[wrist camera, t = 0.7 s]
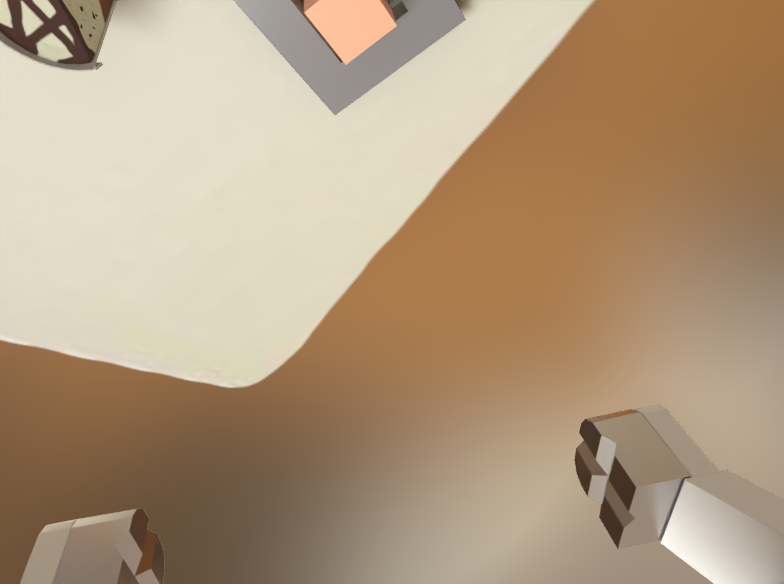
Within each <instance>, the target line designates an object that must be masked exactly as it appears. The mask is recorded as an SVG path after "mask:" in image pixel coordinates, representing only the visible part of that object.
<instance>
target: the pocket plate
mask: <svg viewBox="0 0 784 584" xmlns="http://www.w3.org/2000/svg"><path fill="white" fill-rule="evenodd" d="M234 1H235V2H236V4H237V5H238V6H239V7H240V8H241V9H242V10H243V12H244V13H245V14H246V15H247V16H248V17H249V18H250V19H251V21H252V22H253V23H254V24H255V25H256V26H257V27H258V29H259V30H260V31H261V32H262V33H263V34H264V35H265V36H266V38H267V39H268V40H269V41H270V42H271V43H272V44H273V46H274V47H275V48H276V49H277V50H278V51H279V52H280V54H281V55H282V56H283V57H284V58H285V59H286V60H287V61H288V63H289V64H290V65H291V66H292V67H293V68H294V69H295V71H296V72H297V73H298V74H299V75H300V76H301V77H302V78H303V80H304V81H305V82H306V83H307V84H308V85H309V86H310V88H311V89H312V90H313V91H314V92H315V93H316V94H317V95H318V97H319V98H320V99H321V100H322V101H323V102H324V103H325V105H326V106H327V107H328V108H329V109H330V110H331V111H332V112H333V114H334V115H336V114H338V113H339V112H340V111H342V110H343V109H344V108H346V107H347V106H348V105H350V104H351V103H353V102H354V101H355V100H357V99H358V98H359V97H361V96H362V95H363V94H365V93H366V92H368V91H369V90H370V89H372V88H373V87H374V86H376V85H377V84H378V83H380V82H381V81H383V80H384V79H385V78H387V77H388V76H389V75H391V74H392V73H394V72H395V71H396V70H398V69H399V68H400V67H402V66H403V65H404V64H406V63H407V62H409V61H410V60H411V59H413V58H414V57H415V56H417V55H418V54H419V53H421V52H422V51H424V50H425V49H426V48H428V47H429V46H430V45H432V44H433V43H434V42H436V41H437V40H439V39H440V38H441V37H443V36H444V35H445V34H447V33H448V32H450V31H451V30H452V29H454V28H455V27H456V26H458V25H459V24H460V23H462V22H463V21H465V20H466V19H465V18H464V16H463V14H462V12H461V10H460V8H459V7H458V5H457V3H456V1H455V0H401V1H402V2H401V3H399V4H398V5H397V6H395V7H394V8H393V9H392V12H393V15H394V18H395V21H396V24H397V26H396V27H395V28H394V29H392V30H391V31H390V32H388V33H387V34H386V35H384V36H383V37H382V38H380V39H379V40H378V41H377V42H375V43H374V44H373V45H371V46H370V47H369V48H367V49H366V50H365V51H364V52H362V53H361V54H360V55H358V56H357V57H356V58H354V59H353V60H352V61H350V62H349V63H348V64H347V65H345V63H344V62H343V61H342V60H341V58H340V57H339V56H338V54H337V53H336V52H335V51H334V49H333V48H332V47H331V46H330V44H329V43H328V42H327V41H326V39H325V38H324V37H323V36H322V34H321V33H320V32H319V31H318V29H317V28H316V27H315V26H314V24H313V23H312V22H311V21H310V19H309V18H308V17H307V16H306V14H305V13H304V5H303V4H302V2H301V1H300V0H234Z"/></svg>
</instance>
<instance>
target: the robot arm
mask: <svg viewBox="0 0 784 584" xmlns="http://www.w3.org/2000/svg"><path fill="white" fill-rule="evenodd" d="M579 433H580V435H581V436H582V438H583V439H584V441H583V442H582V443H581V444H580V445H579V446H578V447H577V448H576V453H575V465H576V472H577V475H578V478H579V481H580V483H581V485H582V487H583V489H584V491H585V493H586V494H587V496H588V497H589V498H591V499H592V500H594V501H596V502H597V503H599V504H600V505H601V509H600V515H599V518H600V519H601V521H602V523H603V524H604V526H605V528H606V530H607V531H608V533H609V535H610V537H611V538H612V540H613V542H614V543H615V545H616V547H617V549H620V548H626V547H631V546H636V545H640V544H645V543H651V542H655V541H660V540H662V541H661V543H662V544H663V545H664V546H665V547H667V548H668V549H669V550H671V551H672V552H673V553H675V554H676V555H677V556H678V557H680V558H681V559H682V560H684V561H685V562H686V563H688V564H689V565H690V566H692V567H693V568H694V569H696V570H697V571H698V572H700V573H701V574H702V575H704V576H705V577H706V578H707V579H709V580H710V581H711V582H713V583H714V584H784V499H782V498H780V497H779V496H777V495H774V494H773V493H771V492H769V491H767V490H765V489H763V488H761V487H759V486H757V485H755V484H753V483H751V482H750V481H748V480H746V479H744V478H742V477H740V476H738V475H736V474H734V473H732V472H730V471H728V470H723V471H719V470H718V469H717V468H716V467H715V465H714V464H713V463H712V462H711V461H710V459H709V458H708V457H707V456H706V455H705V454H704V452H703V451H702V450H701V449H700V448H699V447H698V445H697V444H696V443H695V442H694V441H693V439H692V438H691V437H690V436H689V435H688V434H687V432H686V431H685V430H684V429H683V428H682V427H681V426H680V424H679V423H678V422H677V421H676V420H675V418H674V417H673V416H672V415H671V414H670V413H669V411H668V410H667V409H666V408H665V407H663V406H661V405H659V404H658V405H653V406H647V407H643V408H638V409H634V410H632V409H629V410H625V411H620V412H616V413H611V414H606V415H601V416H597V417H592V418H587V419H585V420H584V421H583V422H582V423H581V427H580V431H579ZM148 523H149V518H148V516H147V515H146V513H145V512H144V510H143V508H140V509H134V510H129V511H122V512H116V513H111V514H105V515H99V516H93V517H87V518H82V519H76V520H71V521H66V522H60V523H55V524H50V525H46V526H45V528H44V529H43V530H42V531H41V533H40V534H39V535H38V537H37V540H36V543H35V545H34V548H33V551H32V553H31V556H30V558H29V561H28V564H27V566H26V569H25V572H24V574H23V577H22V579H21V582H20V584H163V579H164V572H165V571H164V552H163V548H162V544H161V541H160V539H159V537H158V535H157V534H156V533H153V532H151V531H148V530H147V527H148Z"/></svg>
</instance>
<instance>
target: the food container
mask: <svg viewBox="0 0 784 584" xmlns="http://www.w3.org/2000/svg"><path fill="white" fill-rule="evenodd" d="M115 4H116V0H0V42H1V43H3V44H4V45H5V46H7V47H8V48H10V49H12V50H13V51H15V52H17V53H18V54H20V55H22V56H24V57H26V58H28V59H30V60H33V61H35V62H37V63H40V64H43V65H46V66H49V67H52V68H57V69H62V70H68V71H92V70H97V69H98V68H99V67H101V66H102V65H103V64H102V63H96V61H97V58H98V55H99V52H100V49H101V46H102V43H103V40H104V37H105V34H106V31H107V28H108V25H109V22H110V19H111V16H112V13H113V10H114V7H115Z"/></svg>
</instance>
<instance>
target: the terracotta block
mask: <svg viewBox="0 0 784 584" xmlns="http://www.w3.org/2000/svg"><path fill="white" fill-rule="evenodd" d="M304 13H305V14H306V16H307V17H308V18H309V19H310V21H311V22H312V23H313V24H314V26H315V27H316V28H317V29H318V31H319V32H320V33H321V34H322V36H323V37H324V38H325V39H326V41H327V42H328V43H329V44H330V46H331V47H332V48H333V49H334V51H335V52H336V53H337V54H338V56H339V57H340V58H341V60H342V61H343V62H344V63H345V65H347V64H348V63H349V62H350V61H352V60H353V59H354V58H356V57H357V56H358V55H360V54H361V53H362V52H364V51H365V50H366V49H367V48H369V47H370V46H371V45H373V44H374V43H375V42H377V41H378V40H379V39H380V38H382V37H383V36H384V35H386V34H387V33H388V32H390V31H391V30H392V29H394V28H395V27H396V26H397V24H396V21H395V18H394V15H393V12H392V9H391V6H390V3H389V0H304Z"/></svg>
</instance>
